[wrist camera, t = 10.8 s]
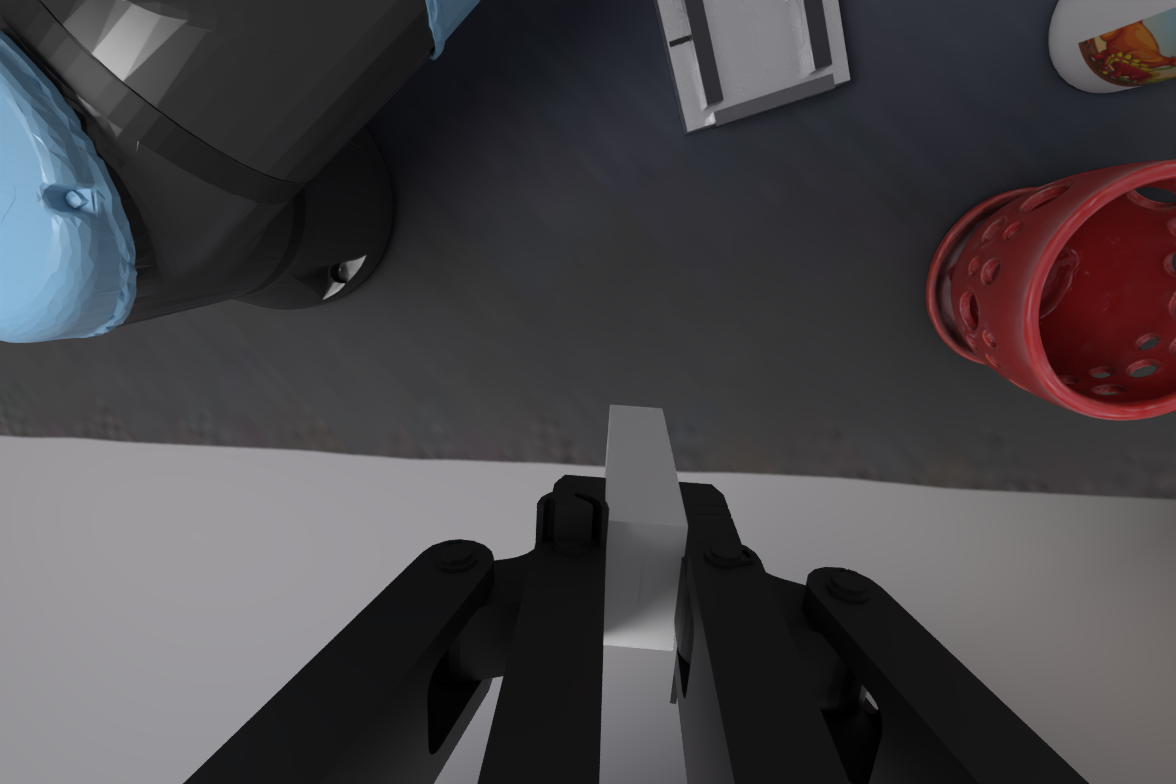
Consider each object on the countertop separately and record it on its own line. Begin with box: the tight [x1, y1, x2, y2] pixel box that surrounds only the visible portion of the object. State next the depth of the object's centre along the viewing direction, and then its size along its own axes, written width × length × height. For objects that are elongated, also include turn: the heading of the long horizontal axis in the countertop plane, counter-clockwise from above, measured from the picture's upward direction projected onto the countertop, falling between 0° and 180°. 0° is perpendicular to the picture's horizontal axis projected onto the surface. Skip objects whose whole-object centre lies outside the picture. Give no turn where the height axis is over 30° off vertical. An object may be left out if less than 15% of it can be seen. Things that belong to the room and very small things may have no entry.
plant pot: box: [925, 159, 1176, 421], centre depth 35 cm, size 13×13×12 cm
